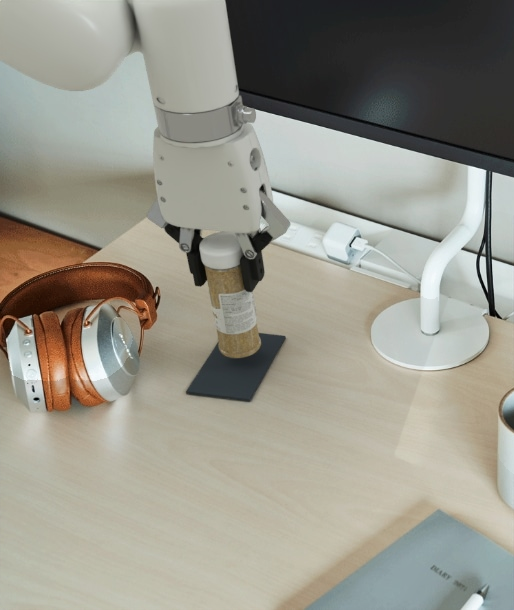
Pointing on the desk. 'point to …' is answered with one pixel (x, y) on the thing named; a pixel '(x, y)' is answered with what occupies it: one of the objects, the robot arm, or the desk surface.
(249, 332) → the brown spice jar
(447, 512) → the desk surface
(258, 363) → the mat
